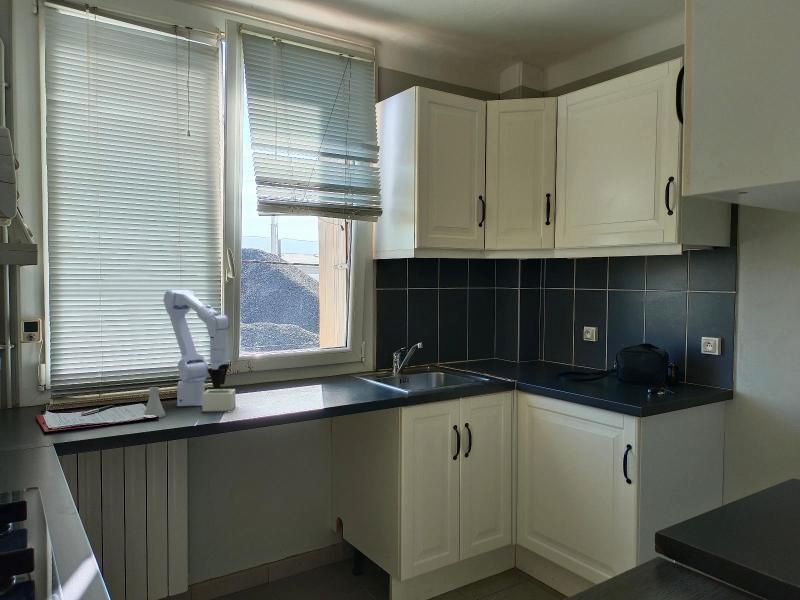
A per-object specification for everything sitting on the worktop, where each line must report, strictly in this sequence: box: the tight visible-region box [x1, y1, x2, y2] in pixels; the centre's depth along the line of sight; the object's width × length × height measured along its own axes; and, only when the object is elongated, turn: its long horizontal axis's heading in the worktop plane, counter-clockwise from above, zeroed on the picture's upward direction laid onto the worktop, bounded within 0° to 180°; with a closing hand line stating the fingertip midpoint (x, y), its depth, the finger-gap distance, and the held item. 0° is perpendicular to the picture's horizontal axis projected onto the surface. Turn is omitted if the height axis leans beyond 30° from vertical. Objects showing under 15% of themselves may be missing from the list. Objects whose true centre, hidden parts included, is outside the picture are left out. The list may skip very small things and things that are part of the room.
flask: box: [143, 386, 166, 419], centre depth 205 cm, size 7×7×10 cm
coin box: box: [201, 388, 236, 413], centre depth 216 cm, size 10×8×6 cm
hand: (219, 386), depth 216 cm, fingers open, 7 cm apart
